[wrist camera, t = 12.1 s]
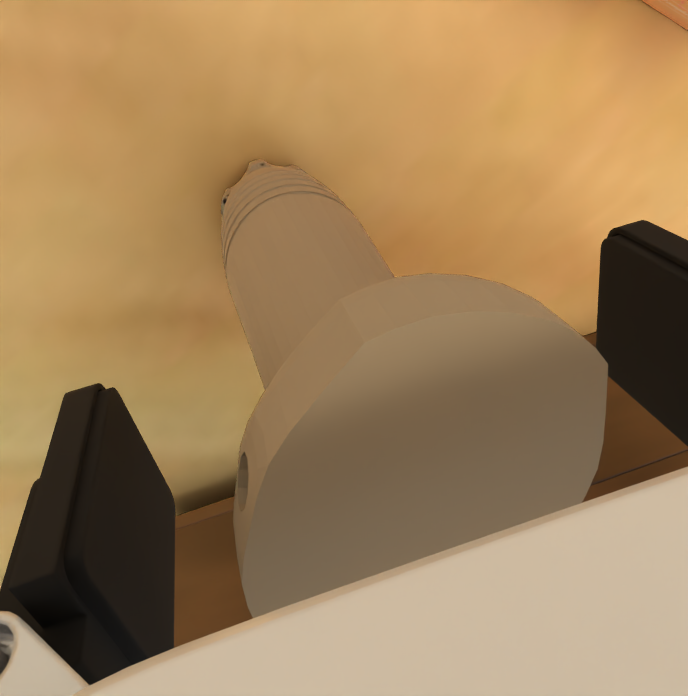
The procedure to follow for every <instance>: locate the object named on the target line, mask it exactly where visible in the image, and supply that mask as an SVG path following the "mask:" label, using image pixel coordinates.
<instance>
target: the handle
mask: <svg viewBox="0 0 688 696" xmlns="http://www.w3.org/2000/svg"><path fill="white" fill-rule="evenodd" d="M221 214H222V228H221V240H222V254H223V263H224V268H225V274H226V278H227V283H228V287H229V291H230V294H231V297H232V299H233V302H234V305H235V307H236V310H237V313H238V316H239V318H240V321H241V324H242V326H243V329H244V332H245V335H246V337H247V340H248V343H249V345H250V348H251V351H252V354H253V357H254V359H255V362H256V365H257V368H258V371H259V374H260V377H261V380H262V383H263V385H264V388H265V391H264V393H263V395H262V396H261V398H260V400H259V402H258V404H257V405H256V407H255V409H254V411H253V413H252V415H251V417H250V418H249V420H248V423H247V426H246V429H245V432H244V435H243V438H242V442H241V445H240V451H239V461H238V471H237V480H236V486H235V498H234V512H233V526H234V535H235V543H236V552H237V559H238V565H239V571H240V576H241V582H242V587H243V591H244V595H245V598H246V602H247V606H248V609H249V611H250V613H251V615H252V617H253V618H256V617H258V616H261V615H264V614H267V613H269V612H272V611H275V610H277V609H280V608H283V607H286V606H288V605H291V604H294V603H297V602H300V601H302V600H305V599H308V598H311V597H314V596H317V595H319V594H322V593H325V592H328V591H331V590H334V589H336V588H339V587H342V586H345V585H348V584H351V583H354V582H356V581H359V580H362V579H365V578H368V577H371V576H373V575H376V574H379V573H382V572H385V571H388V570H390V569H393V568H396V567H399V566H402V565H405V564H407V563H410V562H413V561H416V560H419V559H422V558H424V557H427V556H430V555H433V554H436V553H439V552H441V551H444V550H447V549H450V548H453V547H456V546H459V545H462V544H464V543H467V542H470V541H473V540H476V539H479V538H482V537H485V536H487V535H490V534H493V533H496V532H499V531H502V530H505V529H508V528H511V527H513V526H516V525H519V524H522V523H525V522H528V521H531V520H534V519H536V518H539V517H542V516H545V515H548V514H551V513H554V512H557V511H560V510H563V509H565V508H568V507H571V506H574V505H577V504H580V503H582V501H583V500H584V498H585V496H586V494H587V492H588V489H589V487H590V485H591V483H592V480H593V478H594V476H595V474H596V471H597V469H598V465H599V460H600V455H601V451H602V446H603V439H604V427H605V415H606V399H607V379H608V363H607V362H606V361H605V359H604V358H603V357H602V356H601V354H600V353H599V352H598V350H597V349H596V348H595V347H594V346H593V345H592V344H591V343H589V342H588V341H587V340H586V339H585V338H584V337H582V336H581V335H580V334H579V333H578V332H577V331H575V330H574V329H573V328H572V327H570V326H569V325H568V324H567V323H565V322H564V321H563V320H562V319H560V318H559V317H558V316H557V315H556V314H554V313H553V312H552V311H550V310H549V309H548V308H546V307H545V306H544V305H543V304H541V303H540V302H539V301H537V300H535V299H534V298H532V297H530V296H529V295H526V294H524V293H522V292H520V291H517V290H515V289H513V288H511V287H508V286H506V285H504V284H501V283H498V282H493V281H489V280H485V279H480V278H476V277H472V276H467V275H452V274H433V273H430V274H421V275H412V276H402V277H394V275H393V274H392V272H391V271H390V269H389V268H388V266H387V264H386V263H385V261H384V260H383V258H382V256H381V255H380V253H379V252H378V250H377V249H376V247H375V245H374V244H373V242H372V241H371V239H370V238H369V236H368V234H367V233H366V231H365V230H364V228H363V226H362V225H361V224H360V222H359V221H358V219H357V218H356V217H355V216H354V214H353V213H352V212H351V211H350V210H349V208H348V207H347V206H346V205H345V204H344V203H343V202H342V201H341V200H340V199H339V198H338V197H337V196H336V195H335V194H334V193H333V192H332V191H331V190H330V189H328V188H327V187H326V186H325V185H323V184H322V183H321V182H319V181H318V180H316V179H315V178H313V177H311V176H310V175H308V174H307V173H306V172H305V171H303V170H302V169H300V168H299V167H297V166H295V165H289V166H284V167H282V166H275V165H272V164H269V163H267V162H266V161H265V160H263V159H258V160H254V161H252V162H250V163H249V164H248V168H247V170H246V172H245V174H244V175H243V177H242V178H241V180H240V181H239V182H238V183H236V184H235V185H234V186H232V187H231V188H227V189H226V190H225V192H224V195H223V197H222V202H221Z"/></svg>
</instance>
